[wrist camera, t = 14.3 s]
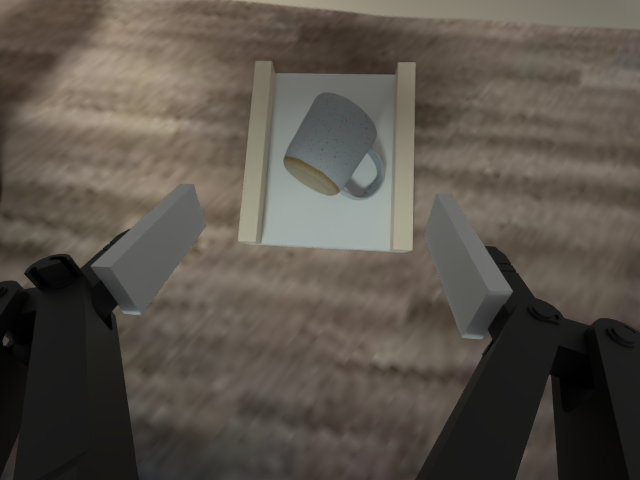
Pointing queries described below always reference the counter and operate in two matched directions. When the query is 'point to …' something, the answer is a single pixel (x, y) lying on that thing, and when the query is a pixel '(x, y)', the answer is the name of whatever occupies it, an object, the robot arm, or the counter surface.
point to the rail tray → (338, 211)
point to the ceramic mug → (333, 147)
